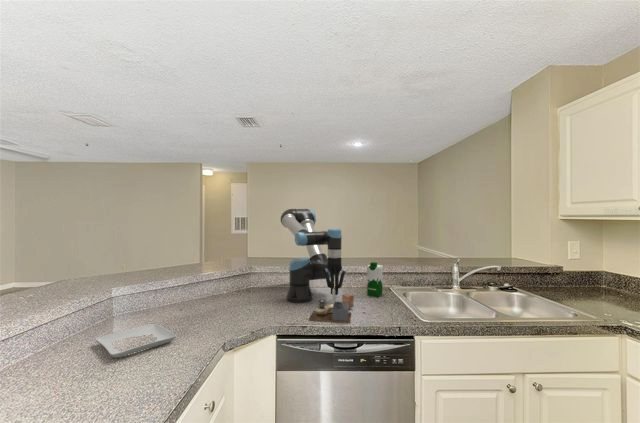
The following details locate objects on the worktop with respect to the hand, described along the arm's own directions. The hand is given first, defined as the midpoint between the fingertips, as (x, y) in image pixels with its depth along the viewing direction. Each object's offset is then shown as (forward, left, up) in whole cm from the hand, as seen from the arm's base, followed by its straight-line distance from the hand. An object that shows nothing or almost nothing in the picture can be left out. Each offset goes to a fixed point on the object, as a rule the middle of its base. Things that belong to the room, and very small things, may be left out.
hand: (334, 300), depth 157 cm
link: (+10, -4, -1) cm, 11 cm away
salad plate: (+16, -89, -3) cm, 91 cm away
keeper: (+16, -10, -3) cm, 19 cm away
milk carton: (-10, +32, -3) cm, 33 cm away
